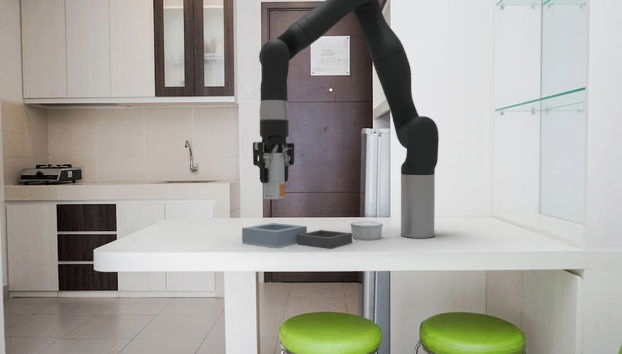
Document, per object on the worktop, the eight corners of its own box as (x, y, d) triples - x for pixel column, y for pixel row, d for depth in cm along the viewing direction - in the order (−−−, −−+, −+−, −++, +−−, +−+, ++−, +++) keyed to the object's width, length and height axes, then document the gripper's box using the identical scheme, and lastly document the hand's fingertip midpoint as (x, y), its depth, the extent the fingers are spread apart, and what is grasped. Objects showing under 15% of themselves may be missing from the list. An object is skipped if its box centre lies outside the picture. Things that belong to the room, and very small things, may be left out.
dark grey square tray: (320, 239, 138) (320, 229, 138) (351, 242, 132) (351, 233, 132) (297, 244, 131) (297, 234, 130) (329, 248, 124) (329, 238, 124)
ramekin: (389, 238, 139) (389, 223, 139) (364, 242, 134) (364, 225, 134) (368, 234, 146) (368, 219, 146) (343, 237, 141) (343, 222, 141)
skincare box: (279, 199, 130) (279, 152, 129) (263, 199, 131) (262, 152, 130) (285, 197, 136) (285, 152, 135) (269, 197, 137) (269, 153, 136)
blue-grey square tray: (272, 237, 142) (272, 222, 142) (306, 241, 135) (306, 226, 135) (242, 243, 133) (242, 228, 133) (277, 248, 126) (276, 232, 125)
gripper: (266, 116, 124) (266, 184, 125) (302, 119, 136) (302, 181, 137) (244, 118, 129) (244, 183, 130) (281, 121, 140) (281, 180, 141)
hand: (274, 182), depth 133 cm, fingers closed on skincare box, 7 cm apart
